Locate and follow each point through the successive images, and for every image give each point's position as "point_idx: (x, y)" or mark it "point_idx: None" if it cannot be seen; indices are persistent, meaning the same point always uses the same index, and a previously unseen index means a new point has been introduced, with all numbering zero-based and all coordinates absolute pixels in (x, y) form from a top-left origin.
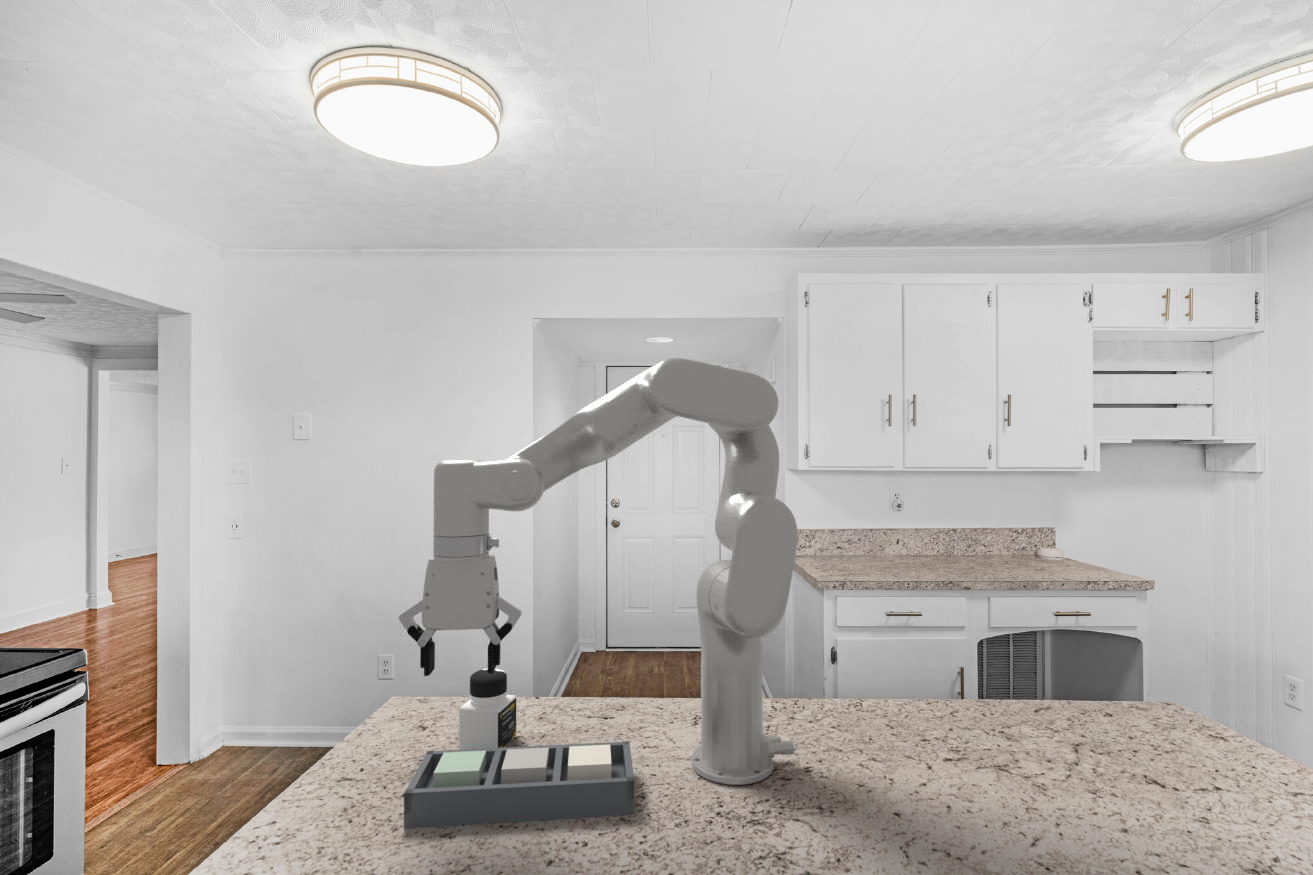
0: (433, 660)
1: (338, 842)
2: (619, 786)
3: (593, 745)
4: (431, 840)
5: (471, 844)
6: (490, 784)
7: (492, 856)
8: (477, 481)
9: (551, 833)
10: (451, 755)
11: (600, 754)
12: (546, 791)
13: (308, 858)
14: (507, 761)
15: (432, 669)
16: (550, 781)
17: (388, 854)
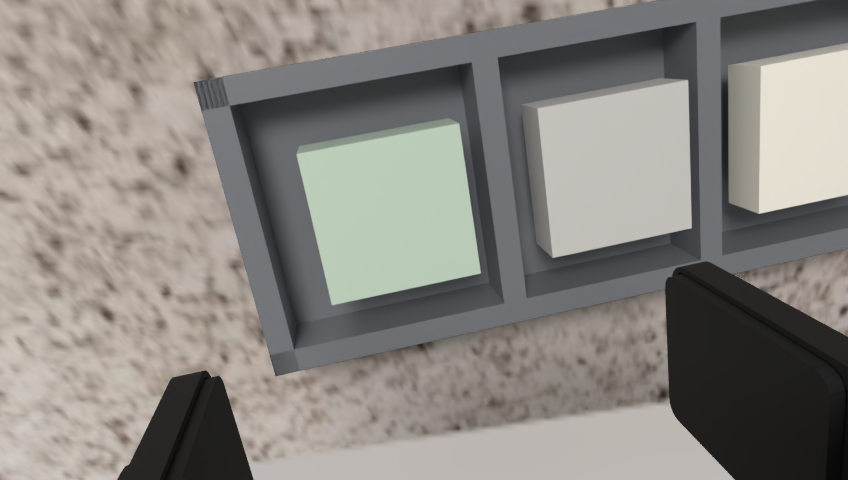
0: (218, 458)
1: (144, 401)
2: None
3: (844, 52)
4: (379, 363)
5: (481, 364)
6: (522, 297)
7: (540, 396)
8: None
9: (654, 303)
10: (338, 175)
11: None
12: None
13: (115, 462)
14: (560, 202)
15: (235, 439)
16: None
17: (302, 423)
